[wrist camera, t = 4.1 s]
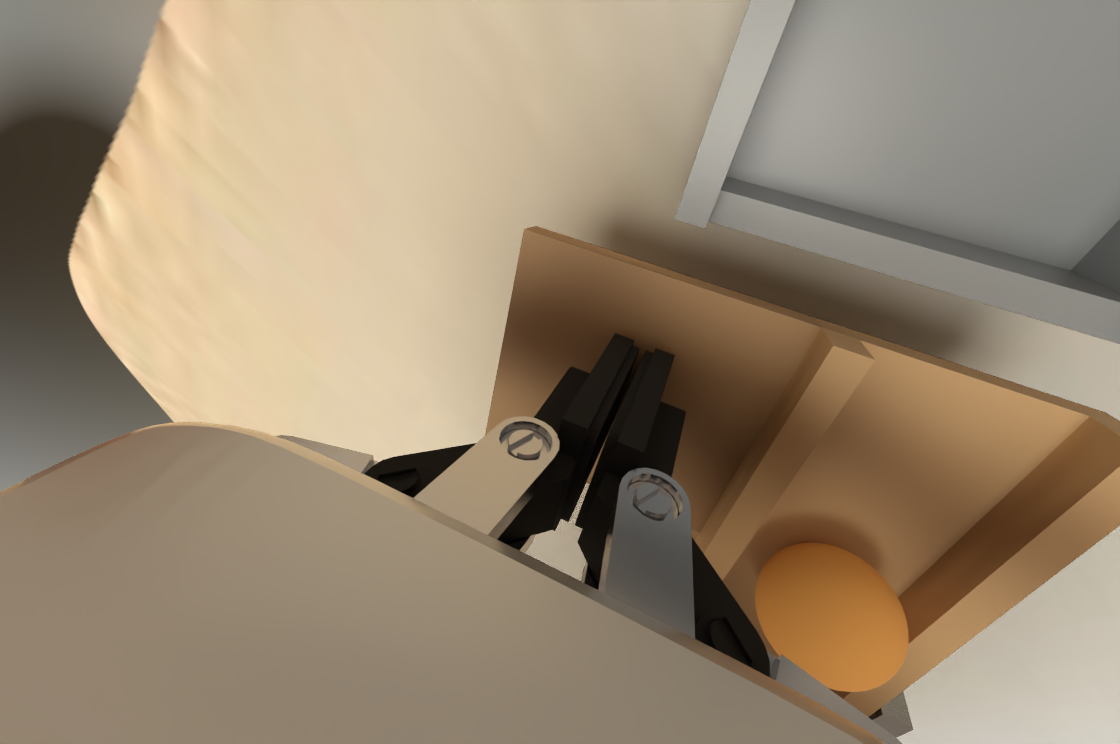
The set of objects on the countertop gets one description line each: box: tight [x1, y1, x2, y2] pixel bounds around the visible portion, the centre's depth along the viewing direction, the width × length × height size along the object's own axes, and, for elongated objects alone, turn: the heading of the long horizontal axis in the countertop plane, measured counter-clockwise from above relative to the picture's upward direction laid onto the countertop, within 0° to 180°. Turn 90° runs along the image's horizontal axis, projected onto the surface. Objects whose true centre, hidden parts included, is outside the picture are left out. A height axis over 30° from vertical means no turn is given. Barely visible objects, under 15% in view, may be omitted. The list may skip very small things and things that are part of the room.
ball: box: [755, 543, 909, 692], centre depth 10 cm, size 3×3×3 cm
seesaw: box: [485, 226, 1120, 717], centre depth 16 cm, size 22×14×4 cm, turn 168°
